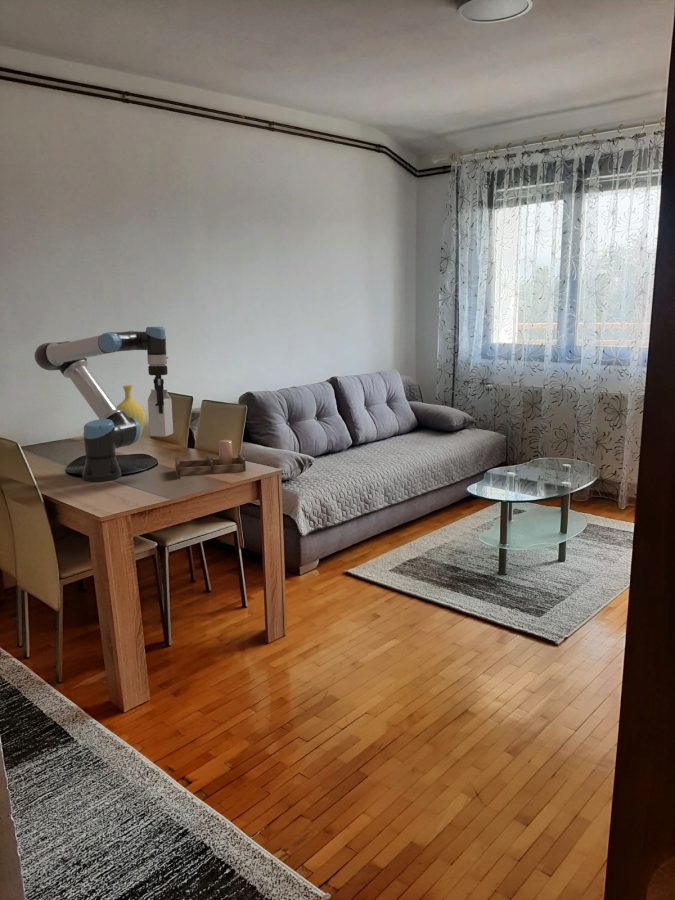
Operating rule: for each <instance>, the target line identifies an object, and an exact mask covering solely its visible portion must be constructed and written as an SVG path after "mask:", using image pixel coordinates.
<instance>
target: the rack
mask: <svg viewBox="0 0 675 900" xmlns="http://www.w3.org/2000/svg"><path fill="white" fill-rule="evenodd" d="M174 459H175V472H176V476H177V479H181V478H182V477H181V476H195V475H208V474H209V475H210V474H223V473H224V474H225V473H237V472H238V473H239V472H246V468H247V467H246V459H245V457H244V456H243V455H242V453H241V452H237V456H236V457H232V460H233V464H232V465H219V458H212V457H211V455H210V454H206V459H205V458H204V459H191V460H189V459H188V460H180V459H179V457H178V456H174Z"/></svg>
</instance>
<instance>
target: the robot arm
mask: <svg viewBox="0 0 675 900" xmlns="http://www.w3.org/2000/svg"><path fill="white" fill-rule="evenodd" d="M128 351H147V357H146V358H147V365H148V367H147V368H148V369H147V370H148V375H149V376H154V379H153V385H154V390H156V394H157V404H155V406H157V416H158V422H161V421H165V417H164V400H163V390H165V389H164V384H165V381H164V379H163V378H162V376H166V375H168V366H167V364H168V359H169V356H167V336H166V329H165V328H164V326H147V327H146V328H145V331H136V330H135V331H134V330H129V331H118V332H117V331H115V332H112V331H107V332H104V333H102V334H99V335H93V336H91V337H86V338H81V339H77V340H72V341H68V340H67V341H63V342H59V341H58V342H45V343H42V344H40V345H39V346H38V347H36V350H35V352H34V360H35V362H36V364H37V365H38V366H39V367H40V368H41V369H43V370H45V371H46V370H47V371H59V372H60V373H61V374H62V375H63V377H64V378H66V379H67V378H68V379H70V380H71V382H72V383H73V384H74V386H75V387H76V389H77V391H79V393H80V394H81V396H82V397H83V398H84V399H85V402H87V404H88V405H89V407H90V408H91V409H92V411H93V412H94V414H95V415H96V416H97V418H98V419H95V420H91V421H88V422H87V423H85V424H84V425H83V433H82V434H83V440H84V441H83V443H84V452H85V462H84V467H83V470H82V475H81V476H82V480H83V481H87V482H107V481H113V480H117V479H120V478H121V477H122V471H121V467H120V465H119V463H118V460H117V457H116V449H120V448H123V447H127V446H128V447H129V446H131V445H133V444H136V442H137V441H139V439H140V437H141V436H140V431H141V429H140V425H139V423H138V421H137V420H136V419H134V418H132V417H127V415H126V414H125V413H124V411H122V410H118V409H117V408H116V407H117V406H116V405H115V404H114V402H113V401H112V399H111V398H110V397H109V395H108V393H106V391H105V390H104V388H103V387H102V386H101V384H100V383H99V382H98V380H97V378H96V377H95V376H94V375H93V374H92V372H91V370H90V369H89V368H88V366H89V362H88V358H91V357H97V356H101V355H107V354H111V353H112V354H113V353H117V352H128Z"/></svg>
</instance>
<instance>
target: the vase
mask: <svg viewBox="0 0 675 900" xmlns="http://www.w3.org/2000/svg"><path fill="white" fill-rule="evenodd" d="M122 388H123V391H124V395H125V396H124V400H122V402H120V403H119V404H117V406H116V408H117V409H118V410H122V411H124V413H125V414H126V415H127V417H132V418H134V419H136V420H137V421H138V423H139V425H140V429H141V431H140V437H141V436H142V433H143V430H144V426H145V420H146V414H145V413H146V412H145V410H144V409H143V406H142V405H140V403H138V402H136V401H135V400H133V398H132V394H131V393H132V388H133V385H131V384H127V385H123V386H122Z"/></svg>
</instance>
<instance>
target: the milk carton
mask: <svg viewBox="0 0 675 900" xmlns="http://www.w3.org/2000/svg"><path fill="white" fill-rule="evenodd" d="M163 400H164V417H165V421H161V422H158V416H157V406H155V404H157V394H156V390H155V388H154V389H150V394H149V396H148V398H147V412H148V425H149V429H148V430H149V437H163V438H164V437H168V436H170V435H174V422H173V421H174V420H173V407H172V406H173V405H172V403H173V402H172V398H171V396H170V395H169V393H168V389H163Z"/></svg>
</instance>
